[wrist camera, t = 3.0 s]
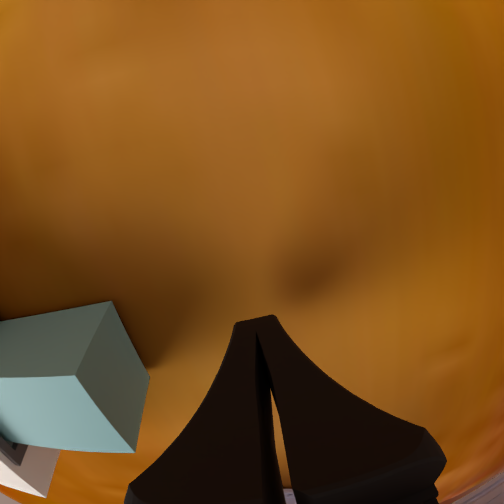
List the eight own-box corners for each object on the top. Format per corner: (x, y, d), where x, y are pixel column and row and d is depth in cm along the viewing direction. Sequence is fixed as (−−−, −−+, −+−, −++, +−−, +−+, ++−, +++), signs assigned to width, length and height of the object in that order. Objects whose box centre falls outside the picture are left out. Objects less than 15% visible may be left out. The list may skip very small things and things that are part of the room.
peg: (111, 300, 11) (74, 375, 7) (149, 376, 12) (135, 452, 9) (-16, 324, 11) (-56, 375, 7) (23, 384, 12) (-4, 438, 9)
